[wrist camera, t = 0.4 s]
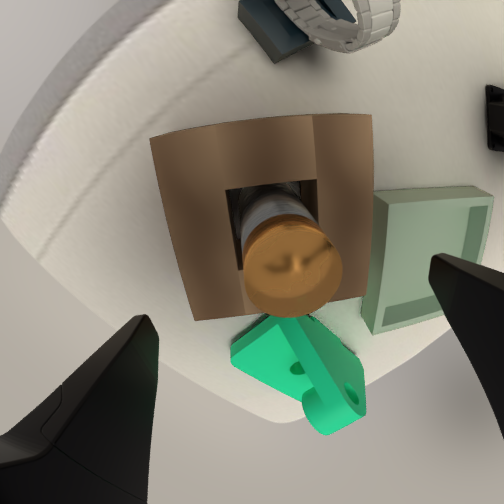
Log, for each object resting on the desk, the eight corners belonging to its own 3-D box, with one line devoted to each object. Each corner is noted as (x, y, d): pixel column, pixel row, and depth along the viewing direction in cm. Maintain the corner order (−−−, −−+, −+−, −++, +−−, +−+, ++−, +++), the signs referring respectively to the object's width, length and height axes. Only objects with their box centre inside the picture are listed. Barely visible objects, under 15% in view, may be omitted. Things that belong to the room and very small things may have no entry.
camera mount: (225, 340, 26) (226, 436, 17) (286, 293, 24) (314, 392, 15) (302, 386, 31) (319, 462, 21) (355, 351, 28) (388, 428, 19)
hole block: (342, 113, 17) (371, 114, 13) (345, 263, 23) (366, 295, 19) (167, 133, 17) (149, 138, 13) (200, 284, 23) (194, 321, 19)
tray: (473, 186, 20) (494, 196, 17) (452, 291, 26) (467, 306, 23) (370, 191, 20) (388, 204, 17) (360, 314, 26) (372, 335, 23)
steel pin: (292, 172, 19) (343, 226, 10) (296, 224, 21) (340, 309, 12) (234, 179, 19) (237, 239, 10) (242, 232, 21) (250, 323, 12)
